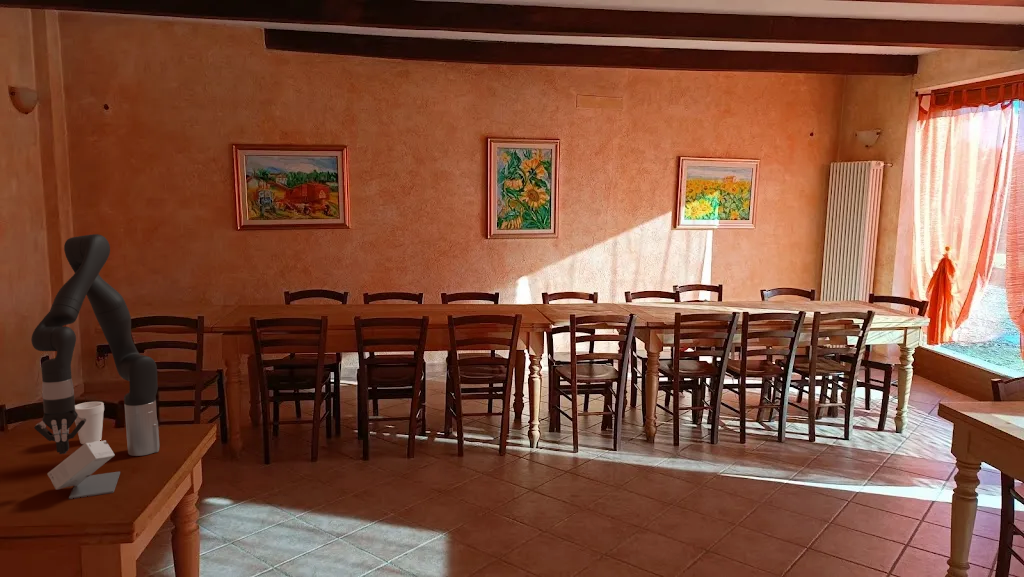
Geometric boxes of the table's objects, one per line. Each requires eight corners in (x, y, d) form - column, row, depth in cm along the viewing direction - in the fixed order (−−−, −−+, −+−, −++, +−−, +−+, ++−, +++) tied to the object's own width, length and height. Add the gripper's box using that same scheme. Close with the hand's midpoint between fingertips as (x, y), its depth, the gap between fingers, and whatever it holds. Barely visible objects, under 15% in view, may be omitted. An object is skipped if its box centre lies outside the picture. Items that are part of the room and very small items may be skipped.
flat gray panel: (120, 472, 212) (120, 471, 212) (113, 492, 197) (113, 491, 197) (78, 478, 207) (78, 477, 207) (68, 499, 193) (68, 497, 193)
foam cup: (72, 440, 241) (69, 405, 239) (102, 434, 247) (99, 400, 245) (78, 447, 234) (75, 411, 232) (109, 441, 240) (106, 405, 238)
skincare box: (55, 490, 193) (95, 459, 192) (45, 472, 194) (84, 442, 193) (78, 485, 202) (116, 455, 201) (69, 468, 203) (106, 438, 202)
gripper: (87, 389, 202) (91, 445, 204) (34, 394, 197) (39, 452, 199) (82, 395, 195) (87, 454, 197) (27, 400, 190) (32, 460, 192)
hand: (63, 453), depth 198 cm, fingers closed
